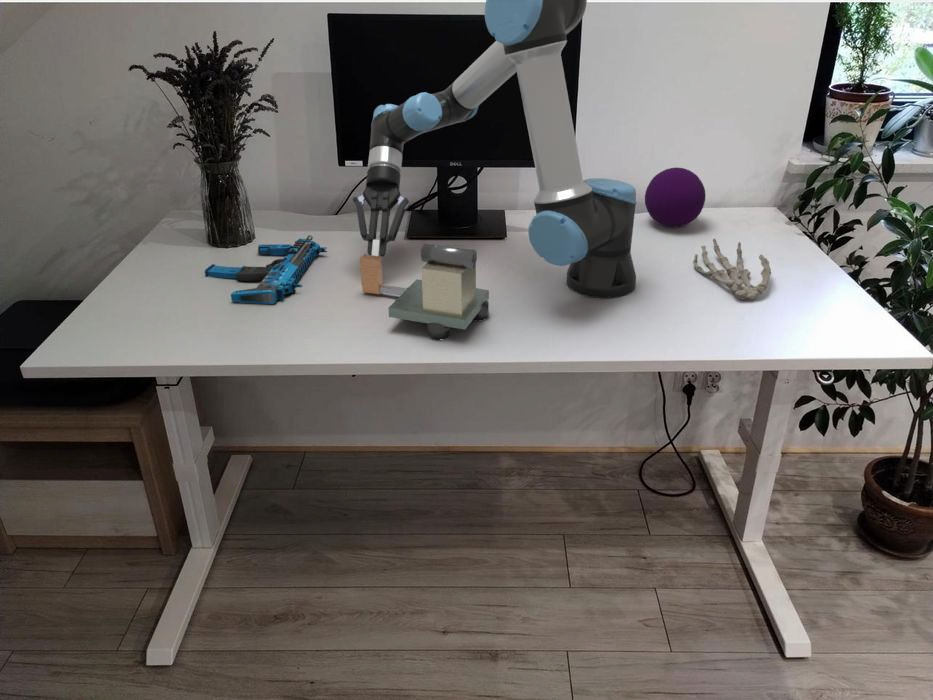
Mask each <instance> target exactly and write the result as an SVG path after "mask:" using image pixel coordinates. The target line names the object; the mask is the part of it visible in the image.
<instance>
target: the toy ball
mask: <svg viewBox="0 0 933 700" xmlns="http://www.w3.org/2000/svg"><path fill="white" fill-rule="evenodd" d="M705 202H706V188H705V186H704V183H703V182H702V180H701V179H700V177H699V176H698V175H697V174H696V173H695V172H693V171H691V170H690V169H687V168H684V167H670V168H667V169H664V170H662V171H660V172H658V173H657V174H656V175H655V176H653V178H652V179H651V180H650V182H649V184H648V185H647V188H646V190H645V193H644V205H645V208H646V210H647V213H648V215H649V217H651V219H653V221H655V222H656V223H657V224H659V225H661V226H663V227H668V228H680V227H681V228H682V227H684V226H686V225H688V224H690V223H692V222H693V221H694V220H696V219H697V218H698V217H699V215H700V214H701V212H702V210H703V208H704V206H705Z"/></svg>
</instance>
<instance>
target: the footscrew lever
mask: <svg viewBox="0 0 933 700" xmlns="http://www.w3.org/2000/svg"><path fill="white" fill-rule="evenodd" d="M359 264H360V276H361V277H360V278H361V288H362V292H363V293H368V294H373V295H374V294H375V295H381V294H382V293H383V294H389V295H394V296H395V295H396V296H401V295H402V294H403V293H404V292H405V291H406V290H407V289H408V288H409V287H410V286H408V287H401V286H395V285H394V286H393V285H388V284H384V279H383V269H382V268H383V267H382V266H383V265H382V257H381V256H373V255H368V254H363V255H361V256H360V257H359Z"/></svg>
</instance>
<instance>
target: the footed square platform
mask: <svg viewBox="0 0 933 700" xmlns="http://www.w3.org/2000/svg"><path fill="white" fill-rule="evenodd" d="M477 255H478V252H477V250H476V249H473V248H465V247H458V246H450V245H444V244H435V243H429V242H425V243H423V244H422V247H421V250H420V259H421V261H422V263H425V264H424V265H423V266H422V267H421V279H418V278H416V279H415V280H414V281H413V283H412V284H411V285H410V286H408V287H409V288H408V287H407V288H408V289H407V290H406V291H405V292H404V293H403V294H402V295H399V296H398V297H397V299H395V300H394V301H393V302H392V303H391V304H390V306H389V307H387V310H388V318H392V319H400V320H406V321H411V322H417V323H423V324H427V336H429V337H430V338H429V337H428V338H429V339H431V338H432V339H431V340H433V339H435V340H434V341H441V340H440V339H444V340H447V339H449V338H450V337H451V328H453V329H460V330H466V329H467V328H468V327H469V325H470V324H471V323H472V321H473V320H477V321H476V322H480V321H479V320H483V321H485V320H484V319H486V320H487V319H488V318H489V317H488V316H489V315H490V314H489V309H490V308H489V305H490V304H489V299H490V298H489V297H490V294H489V293H490V292H489V291H490V290H489V289H484V288H483V289H482V288H478V287H477V271H476V269H477V257H478V256H477ZM449 336H450V337H449ZM448 337H449V338H448ZM446 338H447V339H446Z"/></svg>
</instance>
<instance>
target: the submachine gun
mask: <svg viewBox="0 0 933 700" xmlns="http://www.w3.org/2000/svg"><path fill="white" fill-rule="evenodd" d="M313 237H314V236H312V235H311V234H308V235H307V237H306V238H298V239H297V240H295V241H294V244H293V245H292V244H290V243H289V244H288V243H286V244H285V243H282V244H272V243H271V244H270V243H269V244H258V246H257V253H258V255H270V256H284V257H283V258H277V259H274V260H273V261H272V262H271V263H268V264H266V265H265V266H246V265H243V266H241V267H240V266H222V265H217V264H214V263H213V264H211V265H209V266H208V267H207V268H206V269H205V270H204V275H205V277H206V278H208V277H211V278H212V277H213V278H221V279H236V280H237V281H238V282H254V281H255V282H257V281H260V282H259V284H258V285H257V287H253V288H248V289H241V290H236V291H232V293H231V294H230V299H231V302H232V303H242V304H243V303H244V304H261V305H262V304H263V305H274V304H276V302H277V301H278V300H285V298H286V296H287V294H291V293H295V292H296V291H297V290H296V288H303V284H301V283H300V284H296V283H297V282H298V281H299V279H300V278H301V277H302V275H303V274H304V272H305V271H306V269H307V268H308V267H309V265H310V264H311V263H312V261H313V260H314V258H315V257H318V256H319V255H320V253H328V250H327V247H324V246H323V247H322V246H320V244H319V243H317V242H316V241H313V239H314V238H313ZM296 293H297V292H296ZM296 293H295V294H296ZM284 295H286V296H284Z"/></svg>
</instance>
